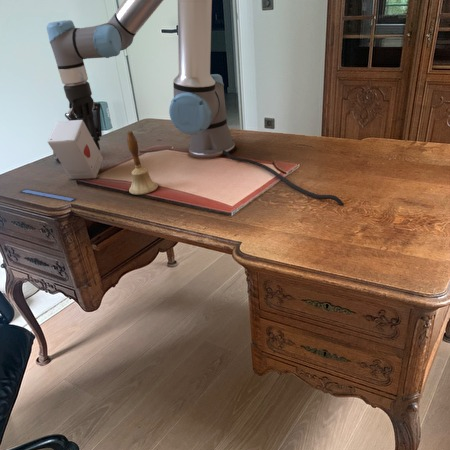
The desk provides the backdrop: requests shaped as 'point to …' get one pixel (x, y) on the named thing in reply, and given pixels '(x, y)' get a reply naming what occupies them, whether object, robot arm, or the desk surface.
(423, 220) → the desk surface
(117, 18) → the robot arm
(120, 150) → the desk surface
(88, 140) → the rectangular carton
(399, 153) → the desk surface
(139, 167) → the hand bell
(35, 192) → the tape line
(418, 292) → the desk surface
